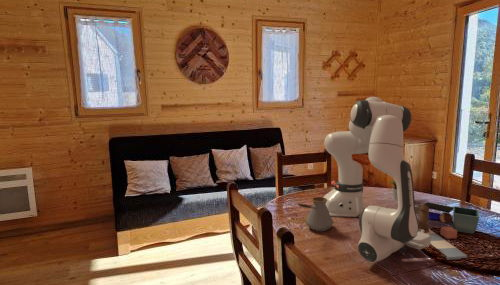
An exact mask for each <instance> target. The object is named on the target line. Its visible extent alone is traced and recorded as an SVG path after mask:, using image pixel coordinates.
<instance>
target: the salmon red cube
mask: <svg viewBox="0 0 500 285" xmlns="http://www.w3.org/2000/svg"><path fill="white" fill-rule="evenodd" d="M439 234H440V235H441V236H443V237H444V238H446V239H457V237H458V231H457V230H455V228H453V227H452V226H440V232H439Z"/></svg>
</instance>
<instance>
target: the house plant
mask: <svg viewBox="0 0 500 285" xmlns="http://www.w3.org/2000/svg"><path fill="white" fill-rule="evenodd" d="M391 178H392V177H391ZM388 183H389V184H390V183H391V184H392V185H393V186H392V189H391V190H392V196H393V197H392V198H393V200H394V201H396V202H398V196H397V184H396V182H395V180H394V179H393V178H392V181H391V180H389V182H388Z"/></svg>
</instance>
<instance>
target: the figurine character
mask: <svg viewBox="0 0 500 285" xmlns="http://www.w3.org/2000/svg"><path fill="white" fill-rule="evenodd" d="M421 205H427V206H428V207H429V210H432V211H433V210H434V211H439V212H442V213H438V212H434V211H433V212H432V211H429V219H430V220H437V221H440V222H442V223H444V224H451V223H453V214H451V213H450V212H453V207H454V206H450V205H443V204H440V203H434V202H425V203H420V204H418V205H417V206H416V205H415V211H416V215H419V210H420V206H421Z"/></svg>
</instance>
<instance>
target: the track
mask: <svg viewBox="0 0 500 285" xmlns="http://www.w3.org/2000/svg"><path fill="white" fill-rule="evenodd" d="M425 234H429V235H430V237H431V243H430V245H432V246H433V247H434V248H436V249H437V251H440V252H441V253H442V254H444V255H443V257H444V259H447V260H449V261H451V260H462V259H461V258H467V259H468V255H467V254H465V253H464V252H463V251H462V250H460V249H459V248H457V247H455V246H454V245H453V244H451V243H450V242H448V241H447V239H444V238H443V237H442V236H440V235H438V234H437V233H436V232H434V231H433V230H432V229H430V228H429V232H428V233H425Z"/></svg>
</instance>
